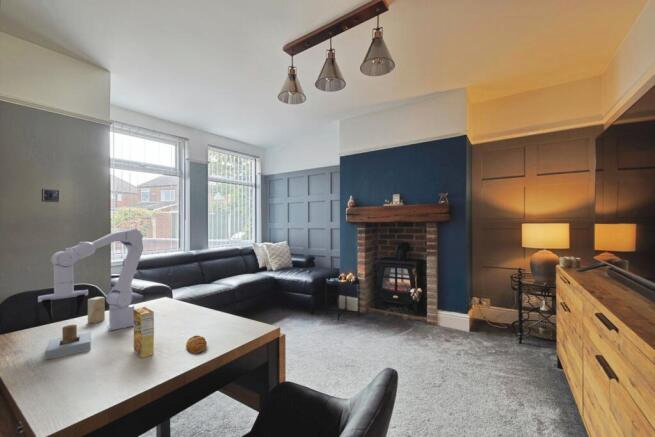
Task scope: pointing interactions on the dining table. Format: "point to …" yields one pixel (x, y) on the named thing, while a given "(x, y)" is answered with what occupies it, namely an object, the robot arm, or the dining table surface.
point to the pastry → (196, 344)
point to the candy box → (143, 332)
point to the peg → (69, 334)
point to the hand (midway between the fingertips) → (64, 316)
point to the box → (96, 309)
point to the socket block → (68, 346)
